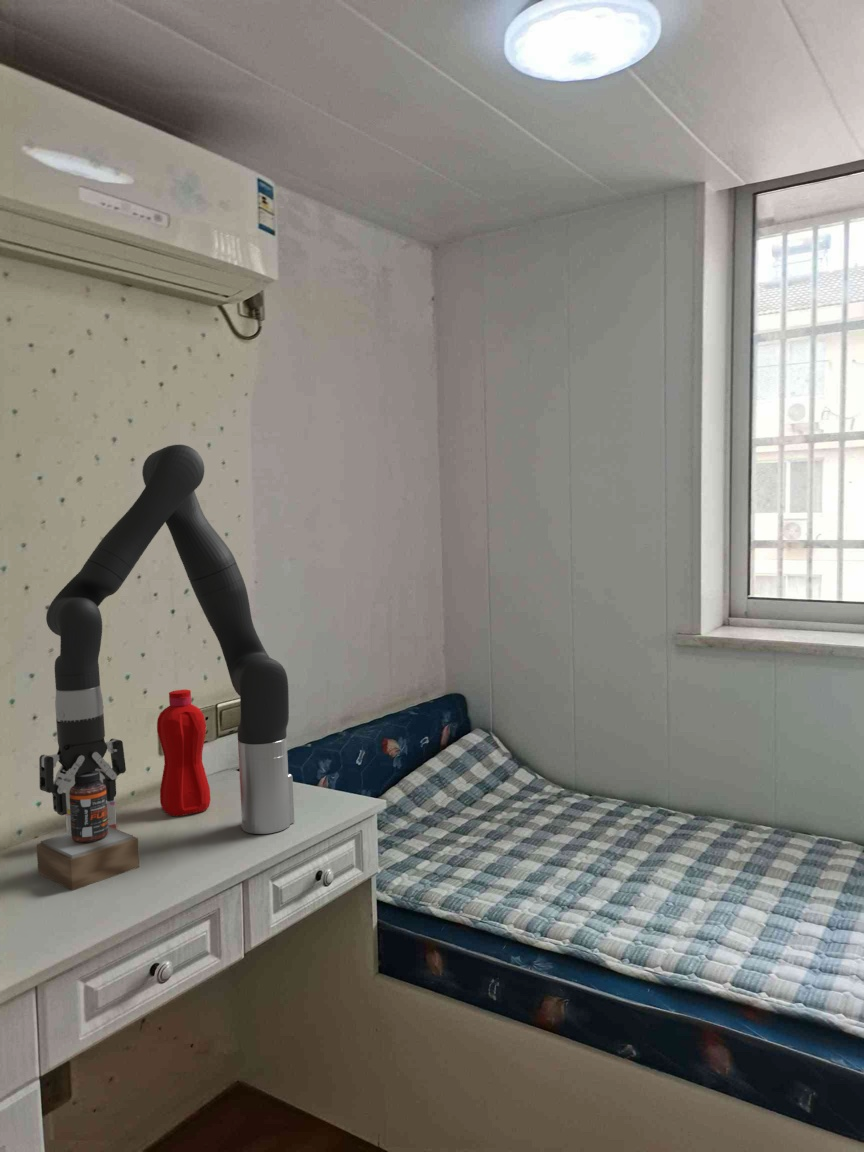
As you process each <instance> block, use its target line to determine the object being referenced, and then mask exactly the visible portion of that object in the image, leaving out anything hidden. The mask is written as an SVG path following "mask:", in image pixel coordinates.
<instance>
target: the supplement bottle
mask: <svg viewBox="0 0 864 1152" xmlns="http://www.w3.org/2000/svg"><path fill="white" fill-rule="evenodd" d="M69 796H70V816H71V834H72V839H73V840H74V841H77V842H92V841H97V840H100V839H102V838H104V837H105V836H106V835H107V834H108V814H107V793H106V786H105V784H104V783H102V782H101V781H100V773H99V771H97V770H95V771H93V772H85V773H83V774H81V775H75V784H74V786H73V787H72V788H71V789H70V793H69Z"/></svg>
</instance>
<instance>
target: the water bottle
mask: <svg viewBox="0 0 864 1152" xmlns="http://www.w3.org/2000/svg"><path fill="white" fill-rule="evenodd" d="M191 692H192V691H191V689H178V690H172V691H170V692H168V702H169V705H168V706H167V707H165V708H164V709H163V710H162V711H161V712H160V713H159V715H158V718H157V723H156V725H157V727H156V728H157V729H156V730H157V731H156V732H157V734H158V739H159V743H160V746H161V750H162V753H163V756H164V757H163V759H164V760H163V761H164V765H163V769H162V771H163V772H162V778H161V783H160V789H159V796H160V797H159V798H160V799H159V800H160V806H161V809H162V810H163V811H164V813H166V814H167V815H169V816H172V817H182V816H186V815H192V814H195V813H196V814H197V813H202V812H205V810H208V808H209V807H210V805H211V804H210V803H211V788H210V784H209V781H208V778H207V773H206V771H205V767H204V763H203V750H204V745H205V738H206V732H207V724H206V718H205V715H204V713H203V711H201V708H199V707H198V706H196V705H194V704H192V693H191Z"/></svg>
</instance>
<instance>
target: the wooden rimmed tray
mask: <svg viewBox="0 0 864 1152" xmlns="http://www.w3.org/2000/svg"><path fill="white" fill-rule="evenodd" d="M139 851H140V850H139V838H138V837H135V836H134V835H132V834H130V833H127V832H125V831H123V830H119V829H118V828H117V829H115V828H112V827H109V826H108V834H107V835H106V836H105V837H104V838H102V839H100V840H97V841H92V842H77V841H74V840H73V839H72V834H71V832H70V833H67V832H66V833H64V834H61V835H57V836H54V837H50V838H47V839H44V840H40V843H37V844H36V858H37V873H38V874H39V875H42V876H44V877H46V878H47V879H50V880H52V881H53V882H56V883H58V884H59V885H62V886H64V888H65V887H66V888H68V889H70V890H72V891H74V890H77V889H80V888H82V887H85V886H86V887H87V886H88V885H91V884H94V883H98V882H100V881H103V880H106V879H108V878H111V877H115V876H117V875H120V874H123V873H125V871H126V872H129V871H131V869H132V870H134V868H135V869H137V868H140V855H139V854H140V852H139ZM136 867H137V868H136ZM128 870H129V871H128Z"/></svg>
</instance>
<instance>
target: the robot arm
mask: <svg viewBox="0 0 864 1152" xmlns="http://www.w3.org/2000/svg"><path fill="white" fill-rule="evenodd" d="M141 474H142V480H143V483H144V486H145V487H144V488H143V490H142V491H141V493H140V495H139V496H138V498H137V499H136V500H135V502H134V503H133V504H132V505H131V507H130V508H129V509H128V510H127V512H125V514H124V515H122V517H121V518H120V519H119V520H118V521H117V522H116V523H115V524H114V525H113V526H112V528H110V530H109V531H108V532H107V533H106V534H105V536H103V538H102V539H101V540H100V542H99V543H98V544H97V546H96V547H95V548H94V550H93V551H92V553H91V554H90V555H89V557H88V558H87V560H86V561H85V563H84V565H83V566H82V567H81V569H80V570H79V572H78V573H77V574H76V575H75V576H74V577H73V578H71V580H70V581H69V582H68V583H67V584H66V585H65V586H63V588H61V590H60V591H59V593H57V595H56V596H55V597H54V598H53V600H52V601H51V603H50V605H49V606H48V609H47V611H46V617H45V619H46V625H47V627H48V629H49V630H51V632H52V633H54V634H55V635H56V636H58V637H60V638H59V639H60V644H59V647H60V648H59V649H60V651H59V652H60V653H59V656H57V657H56V659H55V660H54V681H55V682H54V683H55V701H54V707H55V719H56V720H55V721H56V734H57V735H56V737H57V745H58V750H57V753H55V754H49V755H48V754H41V755H40V756H39V790H40V791H42V792H45V793H49V794H52V804H53V805H52V806H53V808H52V809H53V811H54V812H56V813H57V815H60V816H66V815H65V814H67V805H66V793H64V790H65V789H66V787H67V785H68V783H69V782H71V781H72V779H73V778H74V776H75V775H81V774H83V773H85V772H93V771H95V769H96V770H98V771H99V772H100V773H101V774H102V775H103V776H104V777H105V779H103V783H104V784H105V786H106V793H107V801H109V802H110V801H113V800H114V798H115V797H116V796H117V783H116V779H117V777H118V776H119V775H122V774H124V773H126V771H127V767H126V759H125V752H124V751H125V750H124V743H123V740H120V739H116V738H110V740H109V741H107V742H105V737H106V732H105V730H106V729H105V717H104V716H105V715H104V702H103V700H104V699H103V694H102V690H101V679H100V665H99V656H100V651H101V644H102V638H103V619H102V613H101V611H100V609H99V606H100V605H101V604H102V603H103V601H104V600H105V599H106V598H108V597H110V596H112V595H114V594H115V593H116V592H118V590H119V589H120V588H121V586H122V585H123V583H124V582H126V579H127V577H129V575H130V573H131V572H132V571H133V569H134V568H135V566H136V565H137V562H139V560H140V558H141V557H142V555H143V554H144V552H145V551H146V550H147V548H148V546H150V543H151V542H152V540H153V539H154V538H155V536H157V534H158V533H159V531H160V530H161V529H162V527H163V526H164V525H165V524H166V526H167V529H168V530H169V532H170V535H171V537H172V538H171V539H172V540H173V543H174V546H175V549H176V551H177V553H178V556H179V557H180V561H181V563H182V565H183V568H184V570H185V573H186V575H187V578H188V580H189V583H190V585H191V587H192V590H193V593H194V594H195V596H196V599H197V602H198V603H199V606H200V607H201V609H202V612H203V614H204V615H205V617H206V620H207V621H208V624H209V626H210V627H211V629H212V631H213V633H214V635H215V636H216V639H217V641H218V643H219V646H220V649H221V652H222V654H223V658H224V661H225V663H226V668H227V671H228V675H229V679H230V682H231V684H232V687H233V689H234V691H235V693H236V694H237V695H238V696H239V698H240V699H239V702H240V720H239V724H238V726H237V746H238V747H237V748H238V749H237V750H238V765H239V766H238V769H239V790H240V791H239V793H240V813H241V815H240V816H241V829H242V831H243V832H246V833H248V834H251V835H252V834H254V835H265V834H272V833H278V832H281V831H284V830H286V829H288V827H290V826H291V824H294V823H295V808H294V807H295V802H294V780H293V778H294V777H293V775H292V774H291V773H289V762H288V760H289V757H288V743H287V742H288V739H287V728H288V725H289V721H290V719H289V716H290V715H289V714H290V713H289V709H290V707H289V705H290V703H289V702H290V701H289V681H288V680H289V679H288V675H287V671H286V669H285V668H284V666H283V665H282V664H281V663H280V662H279V661H278V660H275V659H273V658H271V657H270V656H269V653H267V651H266V649H265V647H264V645H263V644H262V641H261V639H260V638H259V635H258V634H257V630H256V629H255V625H254V623H253V619H252V613H251V605H250V599H249V595H248V591H247V590H248V589H247V587H246V584H245V581H244V578H243V575H242V572H241V571H240V568H239V566H238V564H237V562H236V561H237V560H236V558H235V557H234V554H233V552H232V551H231V549H230V547H228V545H227V544H226V543H225V541H224V540H223V538H222V537H221V536H220V534H219V533H218V532H217V531H216V530H215V528H214V527H213V526H212V525H211V523H210V522H209V520H208V519H207V517H206V516H205V514H204V512H203V510H202V508H201V506H200V502H199V500H198V498H197V495H196V492H195V491H196V490H197V488H199V486H200V485H201V484H202V482H203V479H204V475H205V465H204V461H203V458H202V457H201V455H200V454H199V452H198V451H197V450H196V449H194V448H192V446H189V445H186V444H185V445H184V444H172V445H168V446H166V447H163V448H161V449H158V450H156V451H154V452H152V453H151V454H150V455H148V456H147V458H146V459H145V460H144V462H143V466H142V473H141ZM107 752H108V753H110V760H111V768H110V766H109V765H108V763H109V762H107V761H106V760H105V759H104V756H105V755H106V753H107ZM58 762H59V764H60V767H59V769H58V771H57V772H56V774H55V779H54V768H56V767H57V763H58ZM67 771H68V772H67ZM66 772H67V773H66Z"/></svg>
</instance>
